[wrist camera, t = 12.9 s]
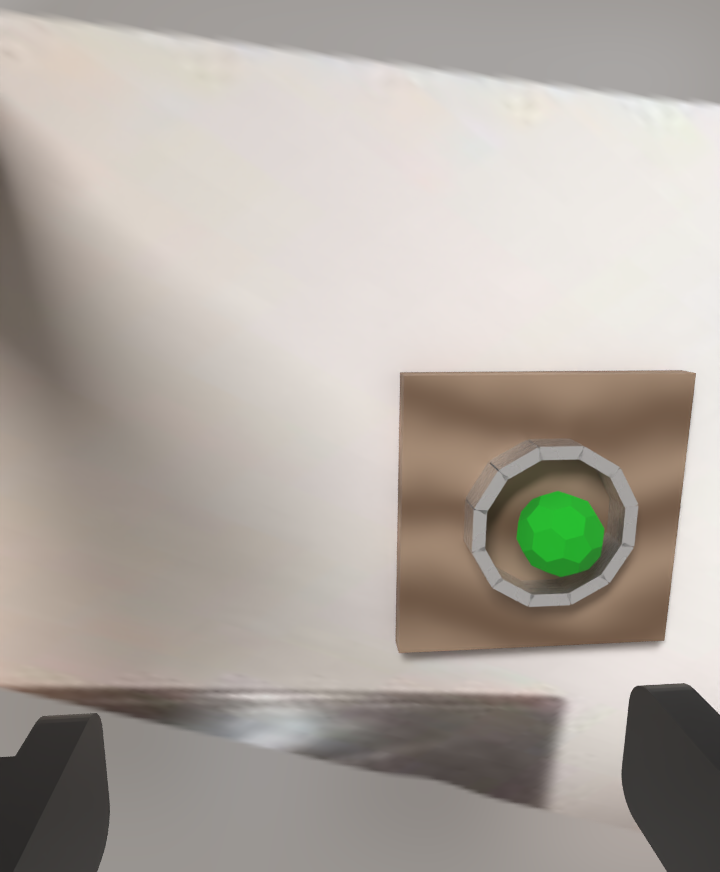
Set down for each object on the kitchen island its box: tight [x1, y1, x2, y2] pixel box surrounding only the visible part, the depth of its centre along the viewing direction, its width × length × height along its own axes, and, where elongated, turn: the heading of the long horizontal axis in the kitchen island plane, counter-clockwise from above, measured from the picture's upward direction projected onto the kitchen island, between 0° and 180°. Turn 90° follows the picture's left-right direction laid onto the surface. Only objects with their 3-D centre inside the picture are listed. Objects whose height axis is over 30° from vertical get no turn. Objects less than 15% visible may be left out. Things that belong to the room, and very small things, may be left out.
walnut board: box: [396, 370, 696, 653], centre depth 41 cm, size 18×18×2 cm
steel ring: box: [464, 439, 638, 607], centre depth 39 cm, size 10×10×2 cm
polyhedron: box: [516, 491, 604, 577], centre depth 38 cm, size 5×5×5 cm
